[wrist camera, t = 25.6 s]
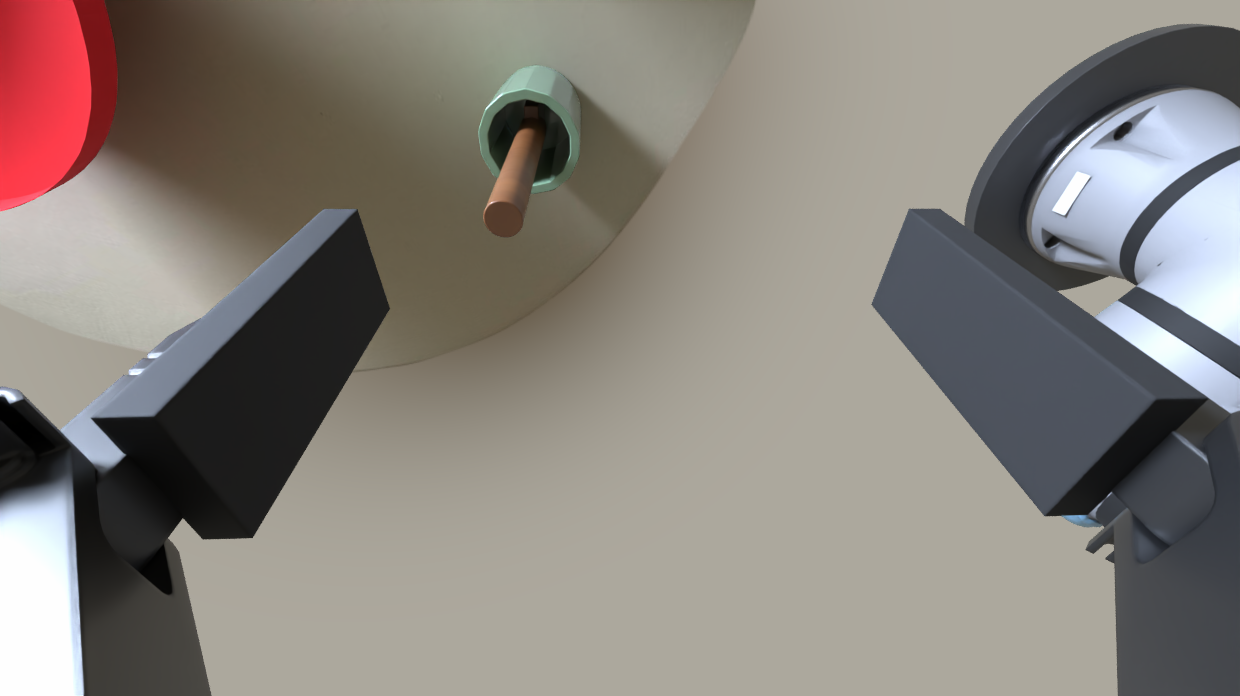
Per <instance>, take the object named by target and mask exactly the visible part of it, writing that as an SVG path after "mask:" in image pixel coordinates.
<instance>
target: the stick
mask: <svg viewBox="0 0 1240 696" xmlns="http://www.w3.org/2000/svg"><path fill="white" fill-rule="evenodd" d="M545 136H546V123H545V111H544V104H542V103H538V102H535V101H531V100H526V102H525V104H524V118H523V120H522V122H521V124H520V127H519V129H518V131H517V134H516V136H515V139H514V141H513V143H512V146H511V148H510V150H509V153H508V155H507V158H506V160H505V162H504V165H503V167H502V170H501V172H500V174H499V177H498V179H497V182H496V184H495V186H494V189H493V191H492V194H491V196H490V198H489V201H488V203H487V206H486V208H485V210H484V214H483V219H484V223H485V225H486V227H487V228H488V229H489V231H491V232H492V233H493V234H495V235H497V236H500V237H511V236H514V235H516V234H517V233H518V232H519V231H520V230H521V228H522V226H523V222H524V218H525V214H526V210H527V206H528V202H529V198H530V194H531V190H532V186H533V182H534V178H535V174H536V170H537V166H538V162H539V158H540V154H541V152H542V148H543V144H544V140H545Z"/></svg>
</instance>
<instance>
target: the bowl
mask: <svg viewBox="0 0 1240 696" xmlns="http://www.w3.org/2000/svg"><path fill="white" fill-rule="evenodd" d="M117 79H118V69H117V60H116V51H115V43H114V39H113V34H112V30H111V25H110V20H109V16H108V12H107V9H106V6H105V2H104V0H0V211H4V210H7V209H11V208H14V207H17V206H20V205H22V204H25V203H27V202H29V201H31V200H34V199H36V198H37V197H39V196H41V195H43V194H45V193H47V192H49V191H51V190H53V189H54V188H56V187H58V186H60V185H62V184H64V183H66V182H67V181H69V180H70V179H72V178H73V177H75V176H76V175H77V174H78V173H80V172H81V171H82V170H84V169H85V168H86V166H87V165H88V164H89V163H90V162H91V161H92V160H93V159H94V158H95V156H96V155H97V153H98V152H99V150H100V149H101V147H102V145H103V144H104V142H105V140H106V137H107V135H108V133H109V130H110V127H111V124H112V121H113V117H114V112H115V107H116V102H117Z"/></svg>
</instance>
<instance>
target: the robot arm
mask: <svg viewBox="0 0 1240 696" xmlns="http://www.w3.org/2000/svg"><path fill="white" fill-rule="evenodd" d="M1019 227H1020V232H1021V235H1022V238H1023V240H1024V242H1025V243H1026V244H1027V246H1028V247H1029V248H1030V249H1032V250H1033V251H1034V252H1036V253H1038V254H1039V255H1041V256H1042V257H1044V258H1045V259H1047V260H1048V261H1050V262H1053V263H1055V264H1059V265H1062V266H1065V267H1070V268H1074V269H1079V270H1084V271H1089V272H1093V273H1098V274H1103V275H1107V276H1112V277H1117V278H1122V279H1126V280H1127V281H1129V282H1131V283H1133V284H1134V285H1136V287H1135V288H1133V289H1132V290H1131V291H1129V292H1128V293H1127V294H1125V295H1124V296H1123V297H1121V298H1120V299H1118V301H1116V302H1114V303H1113V304H1112V305H1110V306H1109V307H1107V308H1106V309H1105V310H1103V311H1102V312H1101V313H1099V314H1098V315H1096V316H1095V317H1093V316H1092V315H1090V314H1089V313H1087V312H1086V311H1084V310H1083V309H1082V308H1080V307H1079V306H1077V305H1076V304H1074V303H1073V302H1072V301H1070V300H1069V299H1067V298H1066V297H1065V296H1063V295H1062V294H1060V293H1059V292H1057V291H1056V290H1055V289H1053V288H1052V287H1050V286H1049V285H1047V284H1046V283H1045V282H1043V281H1042V280H1040V279H1039V278H1037V277H1036V276H1035V275H1033V274H1032V273H1030V272H1029V271H1028V270H1026V269H1025V268H1023V267H1022V266H1020V265H1019V264H1018V263H1016V262H1015V261H1013V260H1012V259H1010V258H1009V257H1008V256H1006V255H1005V254H1003V253H1002V252H1000V251H999V250H998V249H996V248H995V247H993V246H992V245H991V244H989V243H988V242H986V241H985V240H983V239H982V238H981V237H979V236H978V235H976V234H975V233H973V232H972V231H971V230H969V229H968V228H966V227H965V226H964V225H962V224H961V223H959V222H958V221H956V220H955V219H954V218H952V217H951V216H949V215H948V214H946V213H945V212H943V211H942V210H941V209H909V211H908V213H907V216H906V218H905V221H904V223H903V226H902V228H901V231H900V233H899V236H898V239H897V241H896V243H895V246H894V249H893V251H892V254H891V257H890V259H889V261H888V264H887V267H886V269H885V272H884V274H883V276H882V279H881V282H880V284H879V287H878V289H877V292H876V295H875V297H874V299H873V302H872V305H873V307H874V308H875V309H876V310H877V312H878V313H879V314H880V316H881V317H882V318H883V319H884V320H885V321H886V323H887V324H888V325H889V326H890V328H891V329H892V330H893V331H894V332H895V334H896V335H897V336H898V337H899V339H900V340H901V341H902V342H903V343H904V345H905V346H906V347H907V349H908V350H909V351H910V352H911V353H912V355H913V356H914V357H915V358H916V359H917V360H918V362H919V363H920V364H921V366H922V367H923V368H924V369H925V371H926V372H927V373H928V374H929V375H930V377H931V378H932V379H933V380H934V382H935V383H936V384H937V385H938V386H939V388H940V389H941V390H942V391H943V393H944V394H945V395H946V396H947V397H948V399H949V400H950V401H951V402H952V404H953V405H954V406H955V407H956V408H957V410H958V411H959V412H960V413H961V415H962V416H963V417H964V418H965V419H966V421H967V422H968V423H969V424H970V426H971V427H972V428H973V429H974V430H975V432H976V433H977V434H978V435H979V437H980V438H981V439H982V440H983V441H984V443H985V444H986V445H987V446H988V448H989V449H990V450H991V451H992V452H993V454H994V455H995V456H996V457H997V459H998V460H999V461H1000V462H1001V464H1002V465H1003V466H1004V467H1005V468H1006V470H1007V471H1008V472H1009V473H1010V475H1011V476H1012V477H1013V478H1014V479H1015V481H1016V482H1017V483H1018V484H1019V485H1020V487H1021V488H1022V489H1023V490H1024V492H1025V493H1026V494H1027V495H1028V496H1029V498H1030V499H1031V500H1032V501H1033V503H1034V504H1035V505H1036V506H1037V508H1038V509H1039V510H1040V511H1041V512H1042V514H1043V515H1044V516H1062V517H1064V518H1065V519H1066V520H1068V521H1070V522H1071V523H1074V524H1076V525H1079V526H1083V527H1101V526H1104V527H1105V528H1104V529H1103V530H1101V531H1100V532H1099V533H1098V534H1097V535H1096V536H1095V537H1094V538H1093V539H1091V540H1090V541H1089V543H1088V545H1087V548H1086V550H1087V551H1089V552H1091V553H1093V554H1094V553H1095V552H1096V551H1097V550H1098V549H1099V548H1101V547H1102V546H1103V545H1104V544H1113V545H1114V551H1113V552H1112V553H1111V554H1109V555H1108V556H1107V557H1106V560H1108V561H1110V562H1112V563H1114V564H1115V603H1116V638H1117V639H1116V640H1117V678H1118V696H1240V108H1239V107H1238V106H1236V105H1235V104H1234V103H1232V102H1231V101H1230V100H1228V99H1227V98H1225V97H1223V96H1221V95H1220V94H1217V93H1215V92H1213V91H1209V90H1205V89H1200V88H1195V87H1191V86H1186V85H1163V86H1157V87H1152V88H1148V89H1145V90H1141V91H1138V92H1135V93H1133V94H1130V95H1128V96H1125V97H1123V98H1121V99H1119V100H1117V101H1115V102H1113V103H1111V104H1110V105H1108V106H1106V107H1104V108H1103V109H1101V110H1099V111H1098V112H1096V113H1095V114H1093V115H1092V116H1091V117H1089V118H1088V119H1086V120H1085V121H1084V122H1082V123H1081V124H1080V125H1079V126H1077V127H1076V128H1075V129H1074V130H1073V131H1071V132H1070V133H1069V134H1068V135H1067V136H1066V137H1065V138H1064V139H1063V140H1062V141H1061V142H1060V143H1059V144H1058V145H1057V146H1056V147H1055V148H1054V149H1053V150H1052V152H1051V153H1050V154H1049V155H1048V156H1047V158H1046V159H1045V160H1044V161H1043V163H1042V164H1041V166H1040V167H1039V168H1038V170H1037V171H1036V173H1035V175H1034V176H1033V178H1032V180H1031V181H1030V183H1029V185H1028V187H1027V190H1026V192H1025V194H1024V197H1023V200H1022V203H1021V208H1020V213H1019ZM389 309H390V307H389V304H388V301H387V298H386V295H385V292H384V289H383V286H382V283H381V280H380V277H379V274H378V271H377V267H376V264H375V261H374V258H373V255H372V252H371V249H370V246H369V243H368V240H367V237H366V234H365V231H364V228H363V225H362V221H361V218H360V215H359V212H358V209H323V210H322V211H321V212H320V213H319V214H318V215H316V216H315V217H314V218H313V219H312V220H311V221H310V222H309V223H308V224H306V225H305V226H304V227H303V228H302V229H301V230H300V231H299V232H297V233H296V234H295V235H294V236H293V237H292V238H291V239H290V240H288V241H287V242H286V243H285V244H284V245H283V246H282V247H281V248H280V249H278V250H277V251H276V252H275V253H274V254H273V255H272V256H271V257H269V258H268V259H267V260H266V261H265V262H264V263H263V264H262V265H261V266H259V267H258V268H257V269H256V270H255V271H254V272H253V273H252V274H250V275H249V276H248V277H247V278H246V279H245V280H244V281H243V282H242V283H240V284H239V285H238V286H237V287H236V288H235V289H234V290H233V291H231V292H230V293H229V294H228V295H227V296H226V297H225V298H224V299H222V300H221V301H220V302H219V303H218V304H217V305H216V306H215V307H214V308H212V309H211V310H210V311H209V312H208V313H207V314H206V315H205V316H203V317H202V318H200V319H198V320H196V321H195V322H193V323H191V324H189V325H187V326H185V327H184V328H182V329H180V330H178V331H176V332H174V333H173V334H171V335H169V336H168V337H167V338H166V339H165V340H163V341H162V342H161V343H160V344H159V345H158V346H156V347H155V348H154V349H153V350H152V351H151V352H150V353H148V354H147V355H148V358H143V359H142V360H140V361H139V362H138V363H137V364H136V365H135V366H133V367H132V368H131V369H130V370H129V375H123V376H122V377H121V378H120V379H118V380H117V381H116V382H115V383H114V384H113V385H111V386H110V387H109V388H108V389H107V390H106V391H105V392H103V393H102V394H101V395H100V396H99V397H98V398H96V399H95V400H94V401H93V402H92V403H91V404H90V405H88V406H87V407H86V408H85V409H84V410H83V411H82V412H80V413H79V414H78V415H77V416H76V417H75V418H73V419H72V420H71V421H70V422H69V423H68V424H67V425H66V426H64V427H63V428H62V429H61V430H58V429H57V428H56V427H55V426H54V425H53V424H52V423H51V422H50V421H49V420H48V419H47V418H46V417H45V416H44V415H43V414H42V413H41V412H40V411H39V410H38V409H37V408H36V407H35V406H34V405H33V404H32V403H31V402H30V401H29V400H28V399H27V398H26V397H25V396H24V395H23V394H22V393H21V392H20V391H19V390H16V389H12V388H8V387H0V696H211V691H210V687H209V683H208V679H207V674H206V669H205V665H204V661H203V656H202V652H201V647H200V643H199V639H198V634H197V630H196V625H195V621H194V616H193V612H192V607H191V603H190V599H189V594H188V590H187V586H186V581H185V577H184V572H183V568H182V563H181V559H180V555H179V552H178V550H177V548H176V547H175V546H174V544H173V543H172V542H171V541H170V540H169V539H168V537H169V536H170V534H171V533H172V532H173V530H174V529H175V528H176V526H177V525H178V524H179V522H180V521H181V520H182V518H183V519H185V521H186V522H187V523H188V524H189V525H190V526H191V527H192V528H193V529H194V530H195V531H196V532H197V534H198V535H199V536H200V537H201V538H202V539H237V538H253V536H254V535H255V533H256V531H257V530H258V528H259V526H260V524H261V523H262V521H263V520H264V518H265V516H266V515H267V513H268V511H269V510H270V508H271V506H272V505H273V503H274V501H275V500H276V498H277V496H278V495H279V493H280V491H281V490H282V488H283V486H284V485H285V483H286V481H287V480H288V478H289V476H290V475H291V473H292V471H293V470H294V468H295V466H296V465H297V463H298V461H299V460H300V458H301V456H302V455H303V453H304V451H305V450H306V448H307V446H308V445H309V443H310V441H311V440H312V438H313V436H314V435H315V433H316V431H317V430H318V428H319V426H320V425H321V423H322V421H323V420H324V418H325V416H326V415H327V413H328V411H329V410H330V408H331V406H332V405H333V403H334V401H335V400H336V398H337V396H338V395H339V393H340V391H341V390H342V388H343V386H344V384H345V383H346V381H347V380H348V378H349V376H350V375H351V373H352V371H353V370H354V368H355V366H356V365H357V363H358V361H359V360H360V358H361V356H362V355H363V353H364V351H365V350H366V348H367V346H368V345H369V343H370V341H371V340H372V338H373V336H374V335H375V333H376V331H377V330H378V328H379V326H380V325H381V323H382V321H383V319H384V318H385V316H386V314H387V313H388V311H389Z"/></svg>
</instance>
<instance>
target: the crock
mask: <svg viewBox="0 0 1240 696" xmlns="http://www.w3.org/2000/svg"><path fill="white" fill-rule="evenodd" d="M526 100H531V101H535V102H538V103H542V104H544V111H545V123H546V136H545V140H544V144H543V148H542V152H541V154H540V158H539V162H538V166H537V170H536V174H535V178H534V182H533V186H532V190H531V194H536V193H541V192H546V191H551V190H554V189H556V188H557V187H558V186H560V185H561V184H562V183H563V182H565V181H566V180H567V179H568V178H570V176H571V174H572V172H573V170H574V168H575V166H576V164H577V161H578V159H579V154H580V132H581V106H580V102H579V99H578V96H577V93H576V91H575V89H574V88H573V86H572V85H571V83H570V82H569V81H568V80H567V79H566V78H565V77H564V76H563V75H562V74H560V73H559V72H557V71H556V70H554V69H551V68H549V67H545V66H539V65H535V66H527V67H524V68H521V69H520V70H518V71H516V72H515V73H513V74H512V75H511V76H510V77H509V78H508V80H506V81H505V82H504V83H503V85H502V86H501V88H500V89H499V91H498V92H497V93H496V95H495V96H494V98H493V99H492V101H491V102H490V103H489V105H488V106H487V108H486V109H485V112H484V115H483V118H482V121H481V124H480V127H479V130H478V135H479V143H480V150H481V155H482V157H483V159H484V161H485V162H486V164H487V166H488V167H489V169H490V171H491V172H492V174H493V175H494V176H495V177H496V178H498V177H499V174H500V172H501V170H502V167H503V165H504V162H505V160H506V158H507V155H508V153H509V150H510V148H511V146H512V143H513V141H514V139H515V136H516V134H517V131H518V129H519V127H520V124H521V122H522V120H523V118H524V104H525V102H526Z"/></svg>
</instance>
